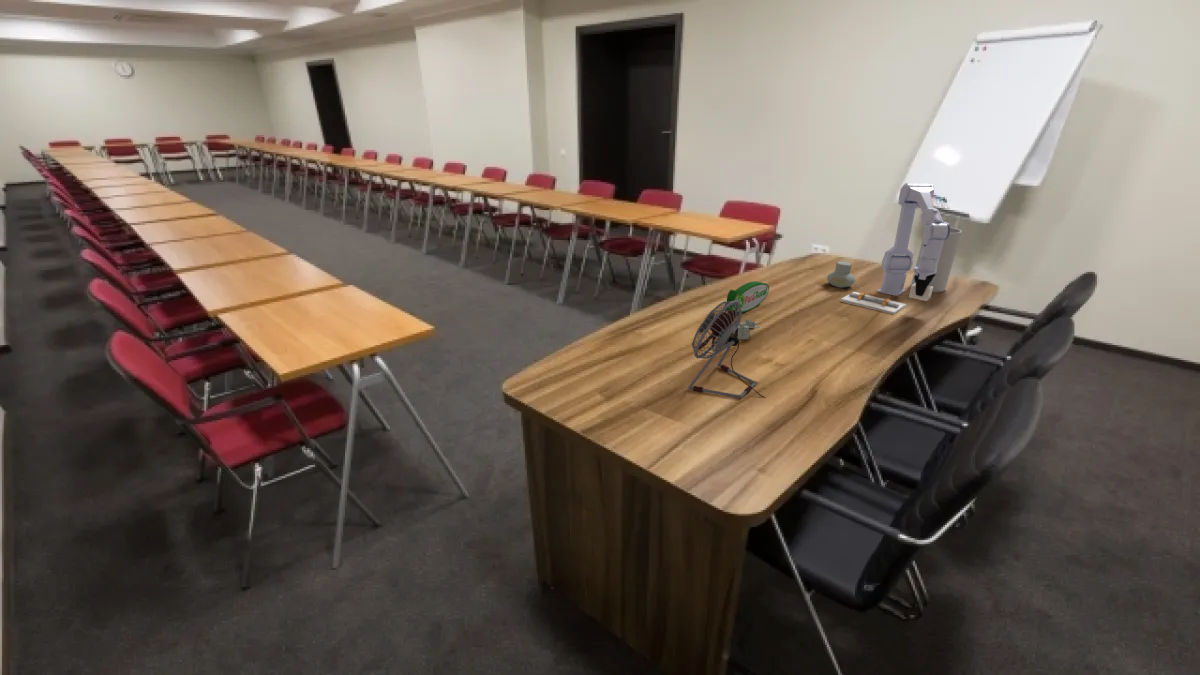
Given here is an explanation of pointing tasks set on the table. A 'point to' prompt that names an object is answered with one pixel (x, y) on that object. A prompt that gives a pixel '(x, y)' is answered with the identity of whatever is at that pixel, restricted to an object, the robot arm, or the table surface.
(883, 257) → the robot arm
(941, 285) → the cylinder vase
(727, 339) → the desk fan
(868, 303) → the rail board
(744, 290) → the sign
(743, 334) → the metal bracket
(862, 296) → the din rail
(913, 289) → the block
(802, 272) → the table surface
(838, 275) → the air freshener
